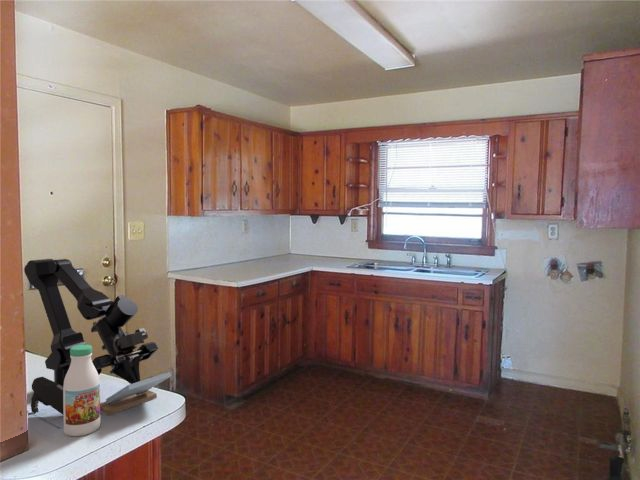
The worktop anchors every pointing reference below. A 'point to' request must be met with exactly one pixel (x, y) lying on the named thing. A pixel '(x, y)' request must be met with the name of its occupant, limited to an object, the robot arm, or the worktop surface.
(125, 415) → the worktop surface
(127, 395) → the flap door
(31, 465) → the worktop surface
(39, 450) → the worktop surface
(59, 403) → the gun
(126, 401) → the board
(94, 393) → the milk bottle
